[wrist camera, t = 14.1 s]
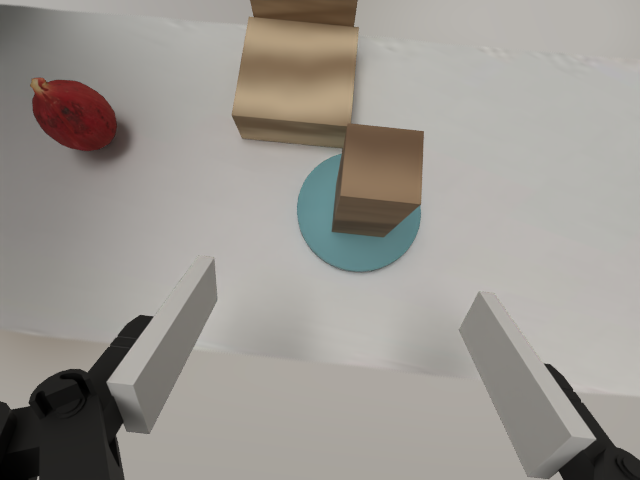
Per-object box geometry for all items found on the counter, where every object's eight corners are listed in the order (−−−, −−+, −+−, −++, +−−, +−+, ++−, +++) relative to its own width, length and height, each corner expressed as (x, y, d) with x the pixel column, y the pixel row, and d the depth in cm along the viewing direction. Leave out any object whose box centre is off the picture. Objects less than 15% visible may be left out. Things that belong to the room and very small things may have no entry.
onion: (144, 143, 31) (86, 90, 23) (95, 175, 30) (18, 131, 22) (116, 104, 32) (50, 39, 24) (67, 133, 31) (-17, 77, 23)
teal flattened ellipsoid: (273, 218, 29) (271, 214, 28) (349, 135, 31) (350, 129, 30) (366, 297, 28) (368, 297, 27) (440, 206, 30) (445, 202, 29)
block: (383, 237, 28) (421, 204, 18) (331, 231, 28) (340, 195, 18) (386, 188, 29) (423, 131, 19) (336, 182, 29) (347, 123, 19)
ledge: (345, 148, 31) (360, 78, 21) (242, 138, 31) (208, 64, 21) (354, 50, 33) (370, -53, 24) (258, 41, 33) (234, -66, 24)
